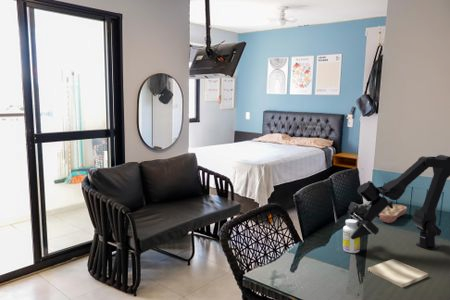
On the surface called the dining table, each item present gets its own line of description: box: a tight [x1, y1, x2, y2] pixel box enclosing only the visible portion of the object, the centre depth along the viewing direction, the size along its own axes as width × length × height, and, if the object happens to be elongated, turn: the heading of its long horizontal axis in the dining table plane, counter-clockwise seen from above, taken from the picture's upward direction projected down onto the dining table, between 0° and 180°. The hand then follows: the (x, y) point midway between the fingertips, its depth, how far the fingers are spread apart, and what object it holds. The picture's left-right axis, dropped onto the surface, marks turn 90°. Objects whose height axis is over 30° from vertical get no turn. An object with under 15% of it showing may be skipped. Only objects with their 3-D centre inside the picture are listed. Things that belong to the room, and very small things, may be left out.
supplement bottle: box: [342, 218, 361, 254], centre depth 149 cm, size 7×7×13 cm
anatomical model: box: [378, 203, 408, 224], centre depth 187 cm, size 23×10×5 cm, turn 136°
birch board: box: [367, 258, 429, 289], centre depth 129 cm, size 14×14×1 cm
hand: (348, 235), depth 149 cm, fingers closed on supplement bottle, 7 cm apart
